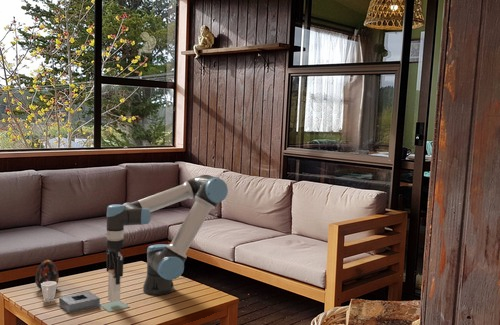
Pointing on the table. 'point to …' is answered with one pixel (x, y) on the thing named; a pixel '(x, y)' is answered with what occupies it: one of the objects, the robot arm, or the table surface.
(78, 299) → the grey square holder
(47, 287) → the cup
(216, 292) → the table surface
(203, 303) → the table surface
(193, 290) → the table surface
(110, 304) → the mat
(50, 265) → the egg
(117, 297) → the plug
